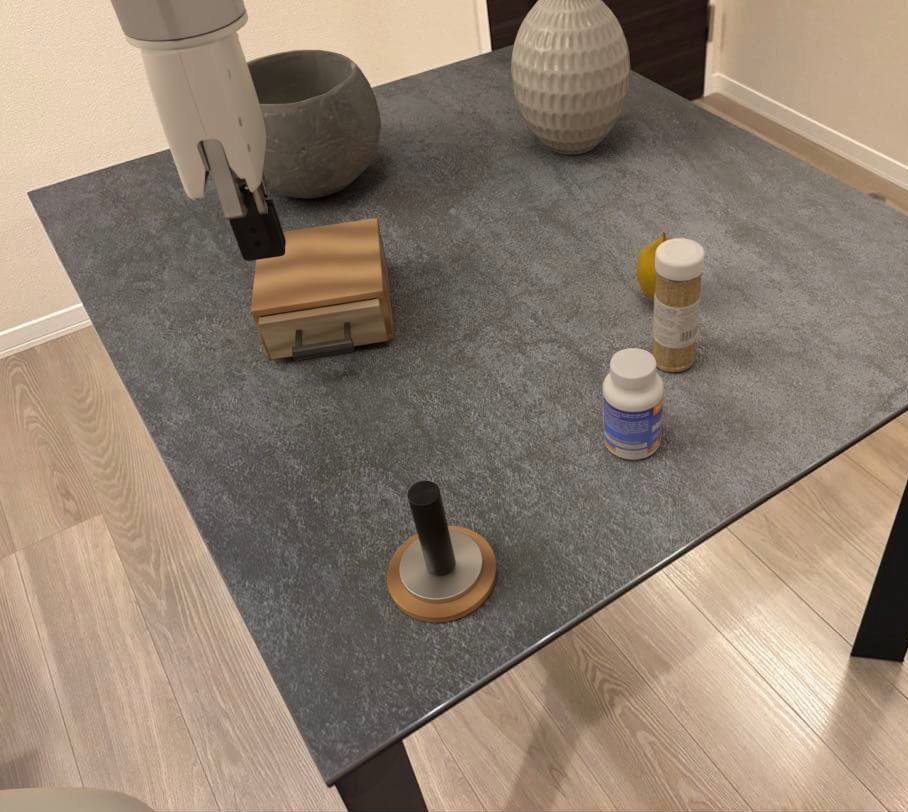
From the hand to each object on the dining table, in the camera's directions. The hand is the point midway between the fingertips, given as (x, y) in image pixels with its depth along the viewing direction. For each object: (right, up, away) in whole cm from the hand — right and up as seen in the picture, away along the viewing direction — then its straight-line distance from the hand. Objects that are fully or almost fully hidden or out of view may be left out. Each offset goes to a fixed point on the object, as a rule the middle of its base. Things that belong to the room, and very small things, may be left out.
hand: (265, 252), depth 64 cm
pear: (+35, 0, +29) cm, 45 cm away
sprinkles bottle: (+35, -7, +22) cm, 42 cm away
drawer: (-2, -3, +28) cm, 28 cm away
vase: (+26, +26, +56) cm, 67 cm away
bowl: (-10, +20, +53) cm, 58 cm away
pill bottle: (+30, -15, +14) cm, 36 cm away
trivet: (+13, -26, +4) cm, 29 cm away
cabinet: (-3, -1, +31) cm, 31 cm away
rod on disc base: (+13, -25, +4) cm, 29 cm away
